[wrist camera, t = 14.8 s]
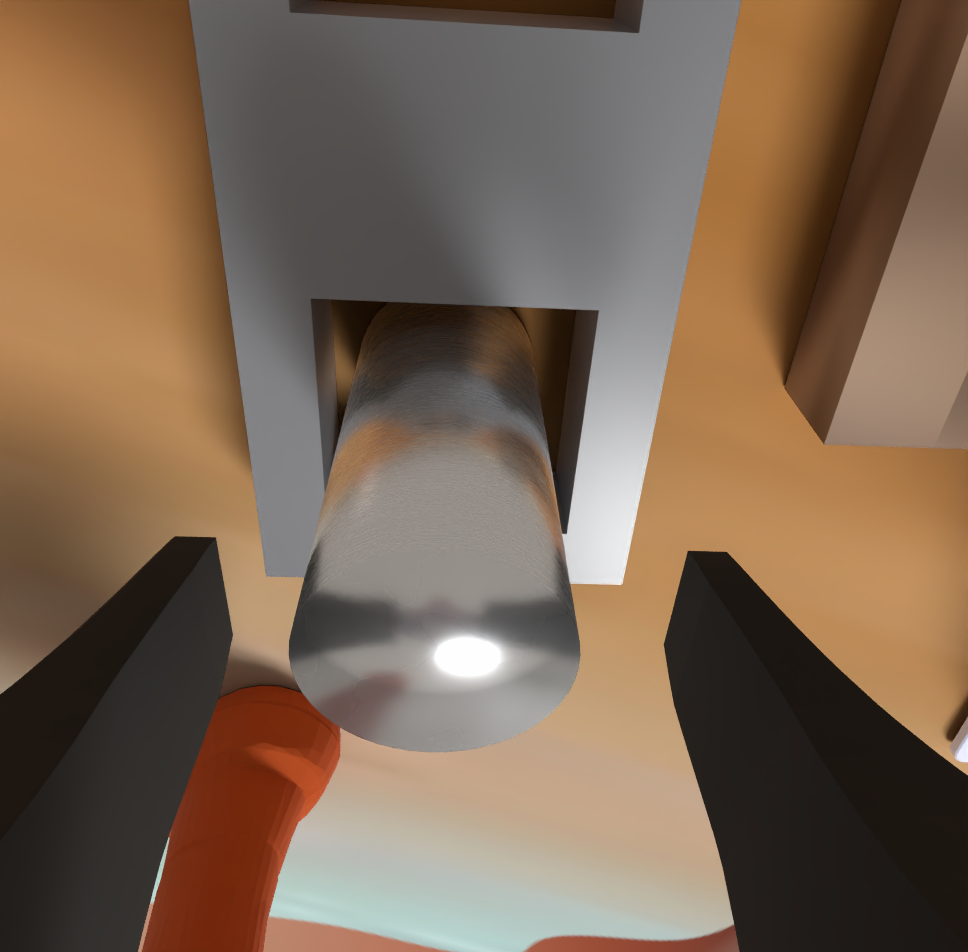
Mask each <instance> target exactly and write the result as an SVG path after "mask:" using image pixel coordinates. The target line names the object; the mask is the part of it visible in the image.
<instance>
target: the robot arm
mask: <svg viewBox="0 0 968 952" xmlns="http://www.w3.org/2000/svg"><path fill="white" fill-rule="evenodd" d="M232 637H233V633H232V627H231V621H230V616H229V610H228V604H227V599H226V593H225V587H224V581H223V576H222V570H221V564H220V559H219V553H218V547H217V541H216V538H214V537H179V536H175V537H174V538H173V539H171V540H170V541H169V542H168V543H167V544H166V545H165V546H164V547H163V548H162V549H161V550H160V551H159V552H158V553H157V554H155V555H154V556H153V557H152V558H151V559H150V560H149V561H148V562H147V563H146V564H145V565H144V566H143V567H142V568H141V569H140V570H139V571H138V572H137V573H136V574H135V575H134V576H133V577H132V578H131V579H130V580H129V581H128V582H127V583H126V584H125V585H124V586H123V587H122V588H121V589H120V590H119V591H118V592H117V593H116V594H115V595H114V596H113V597H112V598H110V599H109V600H108V601H107V602H106V603H105V604H104V605H103V606H102V607H101V608H100V609H99V610H98V611H97V612H95V613H94V614H93V615H92V616H91V617H90V618H89V619H88V620H87V621H86V622H85V623H84V624H83V625H82V626H80V627H79V628H78V629H77V630H76V631H75V632H74V633H73V634H72V635H71V636H70V637H68V638H67V639H66V640H65V641H64V642H63V643H62V644H60V645H59V646H58V647H57V648H56V649H55V650H53V651H52V652H51V653H50V654H49V655H48V656H46V657H45V658H44V659H43V660H42V661H40V662H39V663H38V664H37V665H36V666H35V667H33V668H32V669H31V670H30V671H29V672H28V673H26V674H25V675H24V676H23V677H22V678H20V679H19V680H18V681H17V682H16V683H14V684H13V685H12V686H11V687H9V688H8V689H7V690H5V691H4V692H3V693H2V694H0V952H138V949H139V945H140V940H141V936H142V932H143V928H144V923H145V920H146V916H147V912H148V908H149V905H150V901H151V897H152V893H153V889H154V885H155V881H156V877H157V873H158V869H159V866H160V862H161V859H162V856H163V853H164V849H165V846H166V843H167V840H168V837H169V834H170V831H171V828H172V825H173V823H174V820H175V817H176V814H177V812H178V809H179V806H180V803H181V801H182V798H183V795H184V792H185V790H186V787H187V784H188V782H189V779H190V776H191V773H192V771H193V768H194V765H195V762H196V760H197V757H198V754H199V751H200V749H201V746H202V743H203V740H204V738H205V735H206V732H207V729H208V726H209V724H210V721H211V718H212V715H213V712H214V710H215V707H216V704H217V701H218V698H219V695H220V691H221V686H222V682H223V678H224V674H225V669H226V665H227V660H228V655H229V651H230V646H231V641H232ZM664 648H665V655H666V661H667V667H668V674H669V680H670V685H671V691H672V696H673V701H674V706H675V709H676V713H677V716H678V720H679V723H680V726H681V730H682V733H683V736H684V740H685V743H686V746H687V750H688V753H689V756H690V759H691V762H692V766H693V769H694V772H695V775H696V779H697V782H698V785H699V788H700V791H701V795H702V798H703V801H704V804H705V808H706V811H707V814H708V817H709V821H710V824H711V827H712V830H713V833H714V837H715V840H716V844H717V848H718V852H719V855H720V859H721V863H722V867H723V871H724V876H725V881H726V886H727V891H728V895H729V900H730V905H731V910H732V915H733V920H734V925H735V930H736V935H737V939H738V946H739V951H740V952H968V775H966V774H965V773H963V772H962V771H961V770H959V769H958V768H957V767H955V766H954V765H953V764H951V763H950V762H949V761H947V760H946V759H944V758H943V757H942V756H940V755H939V754H938V753H937V752H935V751H934V750H933V749H932V748H930V747H929V746H928V745H927V744H925V743H924V742H923V741H922V740H920V739H919V738H918V737H917V736H915V735H914V734H913V733H912V732H910V731H909V730H908V729H907V728H905V727H904V726H903V725H902V724H900V723H899V722H898V721H897V720H895V719H894V718H893V717H892V716H891V715H890V714H888V713H887V712H886V711H885V710H884V709H883V708H881V707H880V706H879V705H878V704H877V703H876V702H874V701H873V700H872V699H871V698H870V697H869V696H868V695H867V694H866V693H865V692H864V691H862V690H861V689H860V688H859V687H858V686H857V685H856V684H855V683H854V682H853V681H851V680H850V679H849V678H848V677H847V676H846V675H845V674H844V673H843V672H842V671H841V670H840V669H839V668H838V667H836V666H835V665H834V664H833V663H832V662H831V661H830V660H829V659H828V658H827V657H826V656H825V655H824V654H823V653H822V652H821V651H820V650H819V649H818V648H817V647H816V646H815V645H814V644H813V643H812V642H811V641H810V640H809V639H808V638H807V637H806V636H805V635H804V634H803V633H802V632H801V631H800V630H799V629H798V628H797V627H796V626H795V625H794V623H793V622H792V621H791V620H790V619H789V618H788V617H787V616H786V615H785V614H784V613H783V612H782V611H781V610H780V609H779V608H778V607H777V605H776V604H775V603H774V602H773V601H772V600H771V599H770V598H769V597H768V596H767V595H766V594H765V593H764V591H763V590H762V589H761V588H760V587H759V586H758V585H757V584H756V583H755V582H754V581H753V579H752V578H751V577H750V576H749V575H748V574H747V573H746V572H745V571H744V570H743V569H742V567H741V566H740V565H739V564H738V563H737V562H736V561H735V560H734V559H733V558H732V557H731V556H730V555H729V554H728V553H727V552H708V551H688V553H687V557H686V561H685V564H684V568H683V572H682V576H681V580H680V584H679V588H678V592H677V596H676V599H675V603H674V607H673V611H672V615H671V619H670V623H669V627H668V631H667V634H666V638H665V642H664ZM950 750H951V752H952V754H953V755H954V757H955V759H956V760H958V761H961V762H968V717H967V719H966V720H965V722H964V724H963V725H962V727H961V729H960V730H959V732H958V734H957V735H956V737H955V739H954V740H953V742H952V743H951V746H950Z"/></svg>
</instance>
